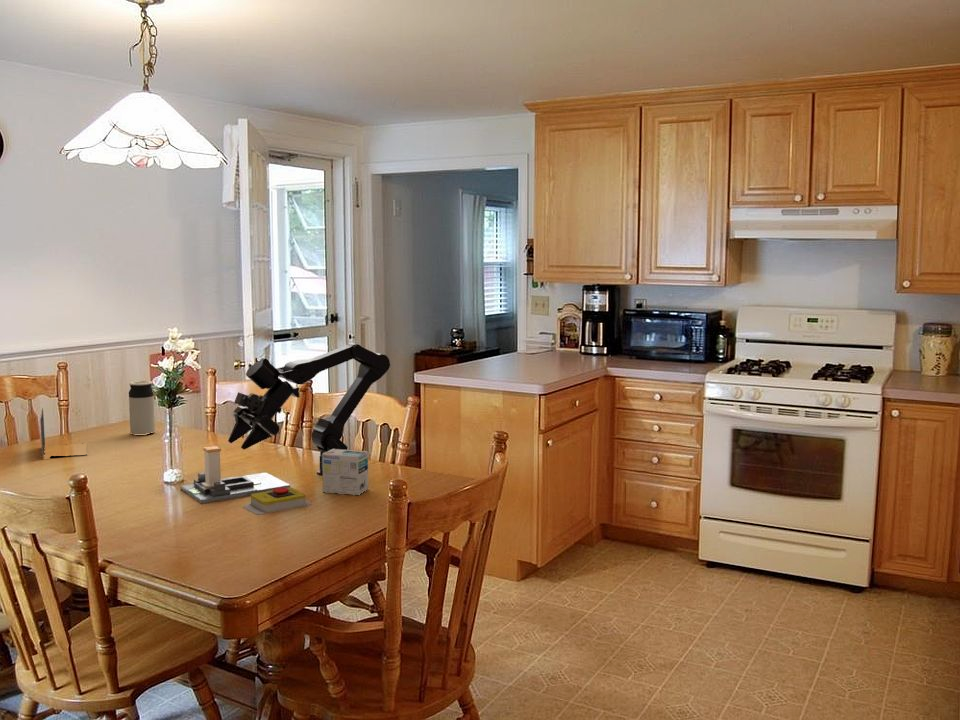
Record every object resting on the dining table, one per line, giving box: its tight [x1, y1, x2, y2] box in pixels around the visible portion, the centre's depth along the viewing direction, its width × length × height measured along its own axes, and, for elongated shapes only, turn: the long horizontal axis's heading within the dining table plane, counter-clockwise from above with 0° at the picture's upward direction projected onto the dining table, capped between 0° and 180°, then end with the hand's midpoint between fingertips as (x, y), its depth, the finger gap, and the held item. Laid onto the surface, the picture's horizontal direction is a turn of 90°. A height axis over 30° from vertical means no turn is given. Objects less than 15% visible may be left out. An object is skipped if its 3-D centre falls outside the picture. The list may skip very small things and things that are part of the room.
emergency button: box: [242, 486, 312, 516], centre depth 212 cm, size 9×4×15 cm
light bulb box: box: [322, 449, 370, 496], centre depth 225 cm, size 11×7×11 cm, turn 74°
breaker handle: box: [201, 445, 222, 488], centre depth 222 cm, size 5×4×11 cm
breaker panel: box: [180, 471, 291, 505], centre depth 226 cm, size 24×16×4 cm, turn 127°
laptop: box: [39, 408, 46, 459], centre depth 266 cm, size 18×12×13 cm
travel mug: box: [128, 380, 156, 435], centre depth 293 cm, size 8×8×18 cm
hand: (235, 445), depth 225 cm, fingers open, 9 cm apart
